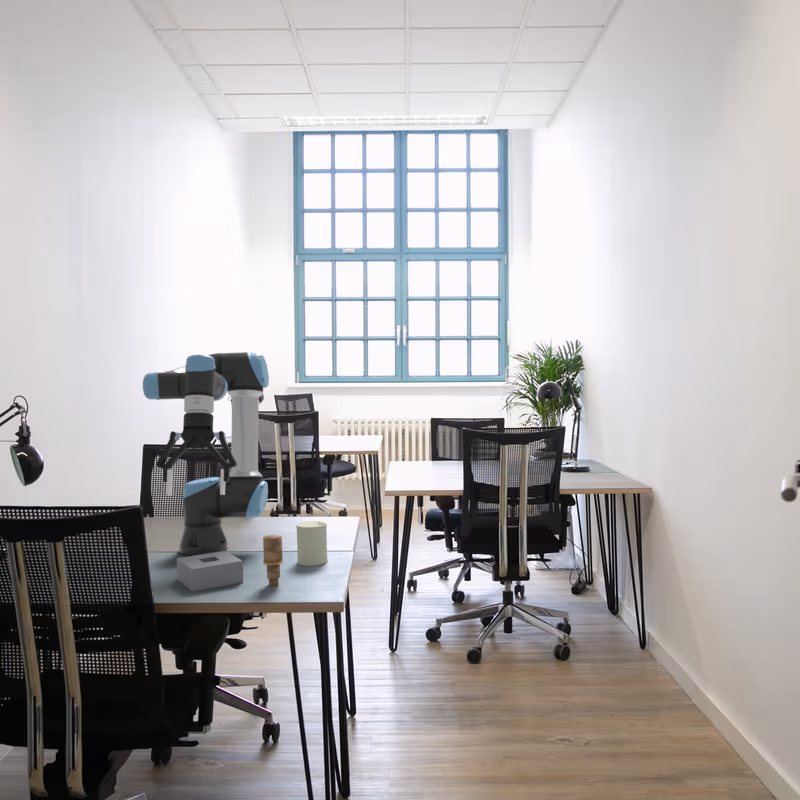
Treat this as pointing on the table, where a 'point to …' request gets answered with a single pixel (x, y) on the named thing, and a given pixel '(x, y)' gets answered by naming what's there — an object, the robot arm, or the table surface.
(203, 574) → the socket block
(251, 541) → the table surface
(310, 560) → the can
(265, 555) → the walnut peg
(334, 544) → the table surface
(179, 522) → the table surface
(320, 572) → the table surface
